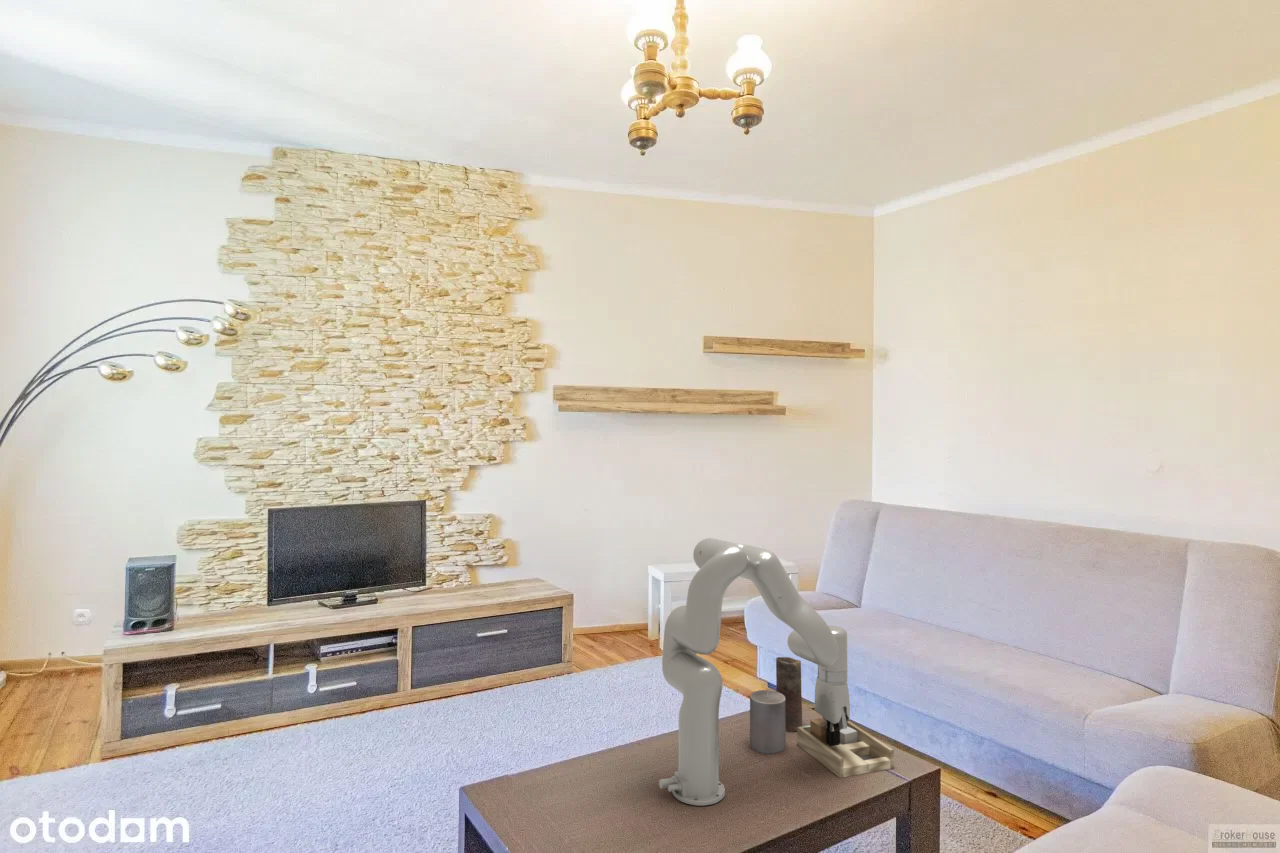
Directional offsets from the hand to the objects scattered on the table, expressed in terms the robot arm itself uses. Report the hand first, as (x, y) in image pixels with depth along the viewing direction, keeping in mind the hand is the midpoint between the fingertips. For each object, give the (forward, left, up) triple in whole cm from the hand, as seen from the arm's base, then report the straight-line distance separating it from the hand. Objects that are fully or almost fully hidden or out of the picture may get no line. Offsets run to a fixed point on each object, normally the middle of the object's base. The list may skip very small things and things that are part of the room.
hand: (833, 744), depth 187 cm
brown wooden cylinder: (-1, +21, -4) cm, 21 cm away
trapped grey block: (+7, +5, -4) cm, 9 cm away
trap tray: (+3, 0, -4) cm, 5 cm away
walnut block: (0, +5, -1) cm, 5 cm away
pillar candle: (-13, +12, -4) cm, 18 cm away
